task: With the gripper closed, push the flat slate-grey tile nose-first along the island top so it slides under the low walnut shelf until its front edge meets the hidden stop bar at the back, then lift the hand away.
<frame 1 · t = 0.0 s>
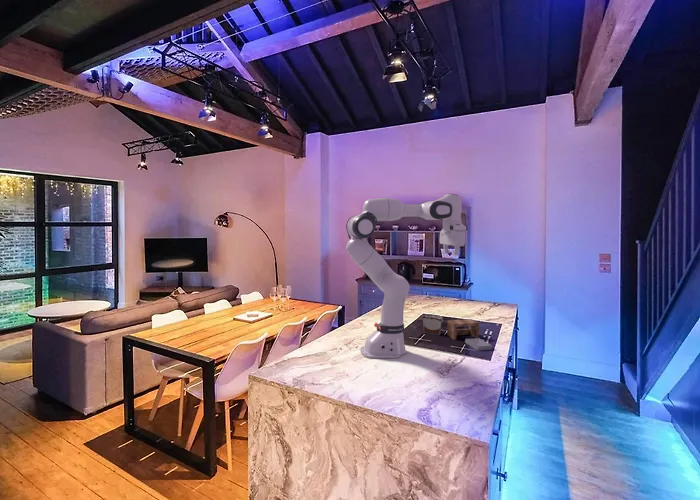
hand: (451, 254, 183), 48 cm above the table, tool pointing down, fingers open, 8 cm apart
slate tile: (478, 346, 189), on the table
walnut shelf: (462, 336, 204), on the table
food container: (433, 332, 212), on the table
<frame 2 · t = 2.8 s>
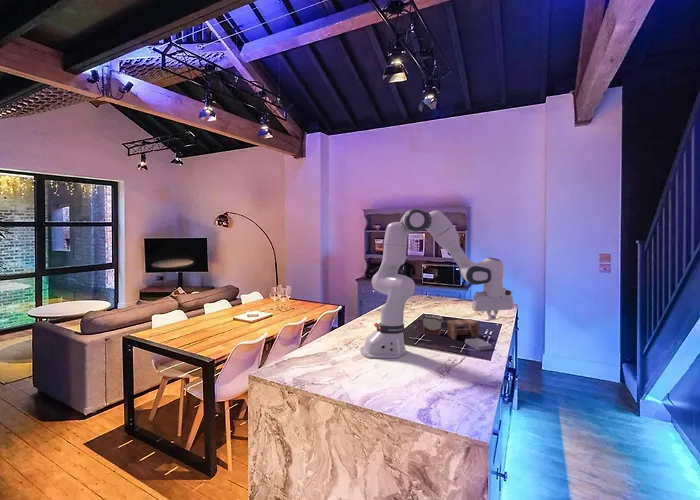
hand: (492, 319, 177), 17 cm above the table, tool pointing down, fingers closed
nothing on the table moved.
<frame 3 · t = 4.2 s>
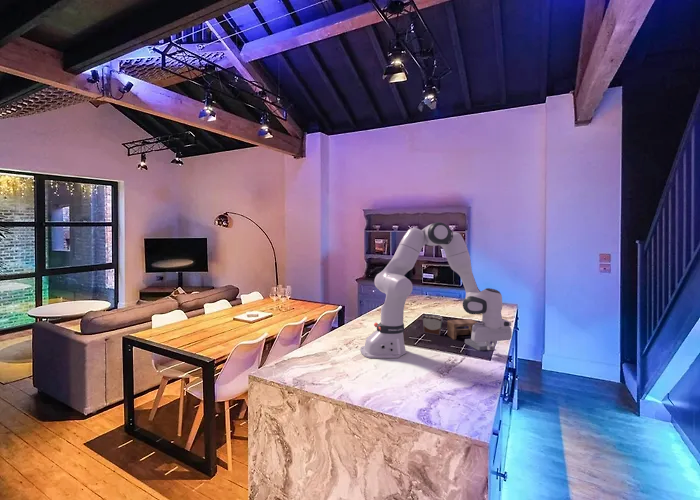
hand: (490, 349, 178), 2 cm above the table, tool pointing down, fingers closed
nothing on the table moved.
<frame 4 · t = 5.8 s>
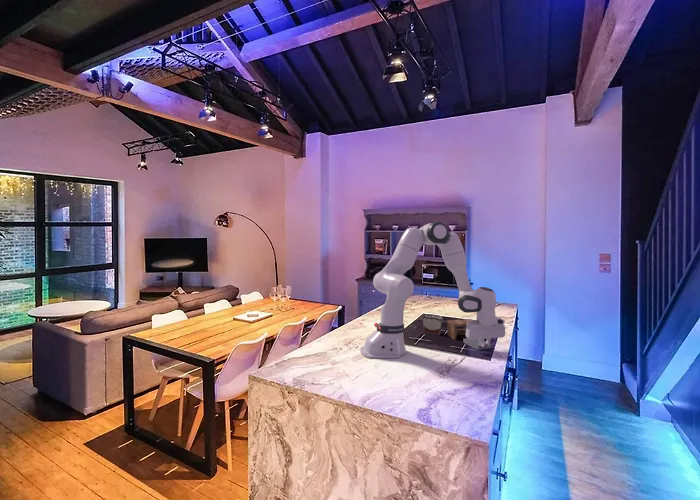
hand: (484, 346, 183), 2 cm above the table, tool pointing down, fingers closed
slate tile: (476, 346, 190), on the table
everything else where it was.
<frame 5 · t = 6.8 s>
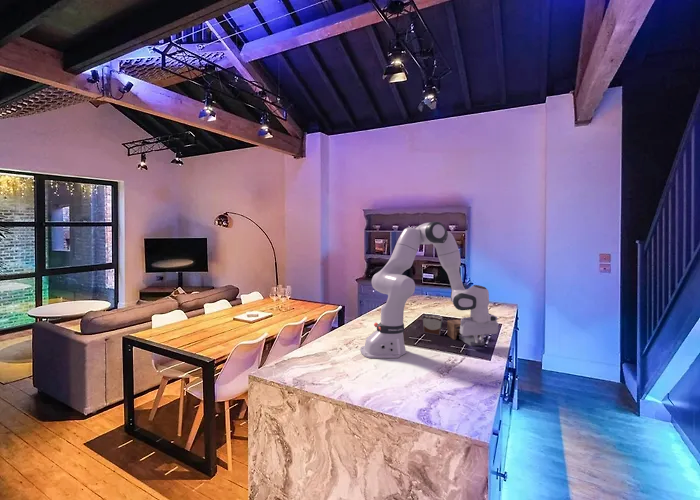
hand: (478, 342, 189), 2 cm above the table, tool pointing down, fingers closed
slate tile: (471, 342, 196), on the table
everything else where it was.
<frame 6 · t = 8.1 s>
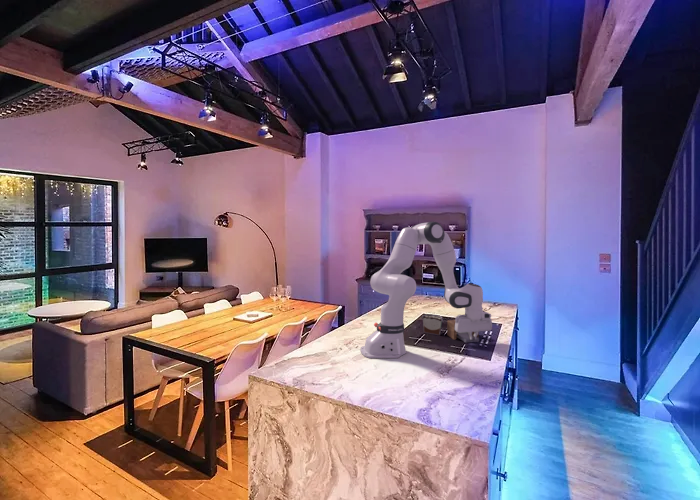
hand: (472, 339, 194), 2 cm above the table, tool pointing down, fingers closed
slate tile: (466, 339, 201), on the table, touching gripper
everything else where it was.
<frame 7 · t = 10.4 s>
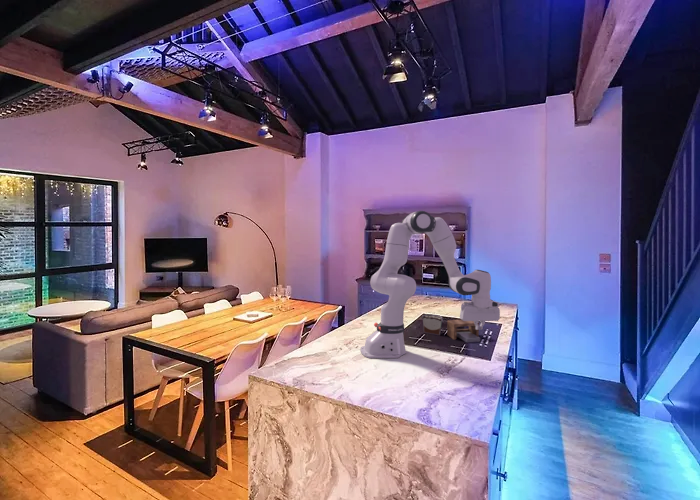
hand: (478, 329, 183), 10 cm above the table, tool pointing down, fingers closed
slate tile: (467, 339, 201), on the table
everything else where it was.
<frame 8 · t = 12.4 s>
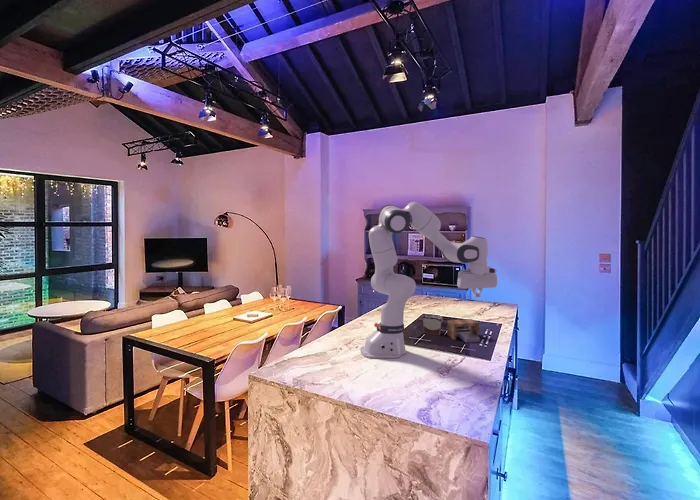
hand: (476, 296, 181), 27 cm above the table, tool pointing down, fingers closed
nothing on the table moved.
at the end: slate tile 1.0 cm from the target spot, on the table; slate tile moved 12.3 cm from its start; slate tile tilted 0° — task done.
